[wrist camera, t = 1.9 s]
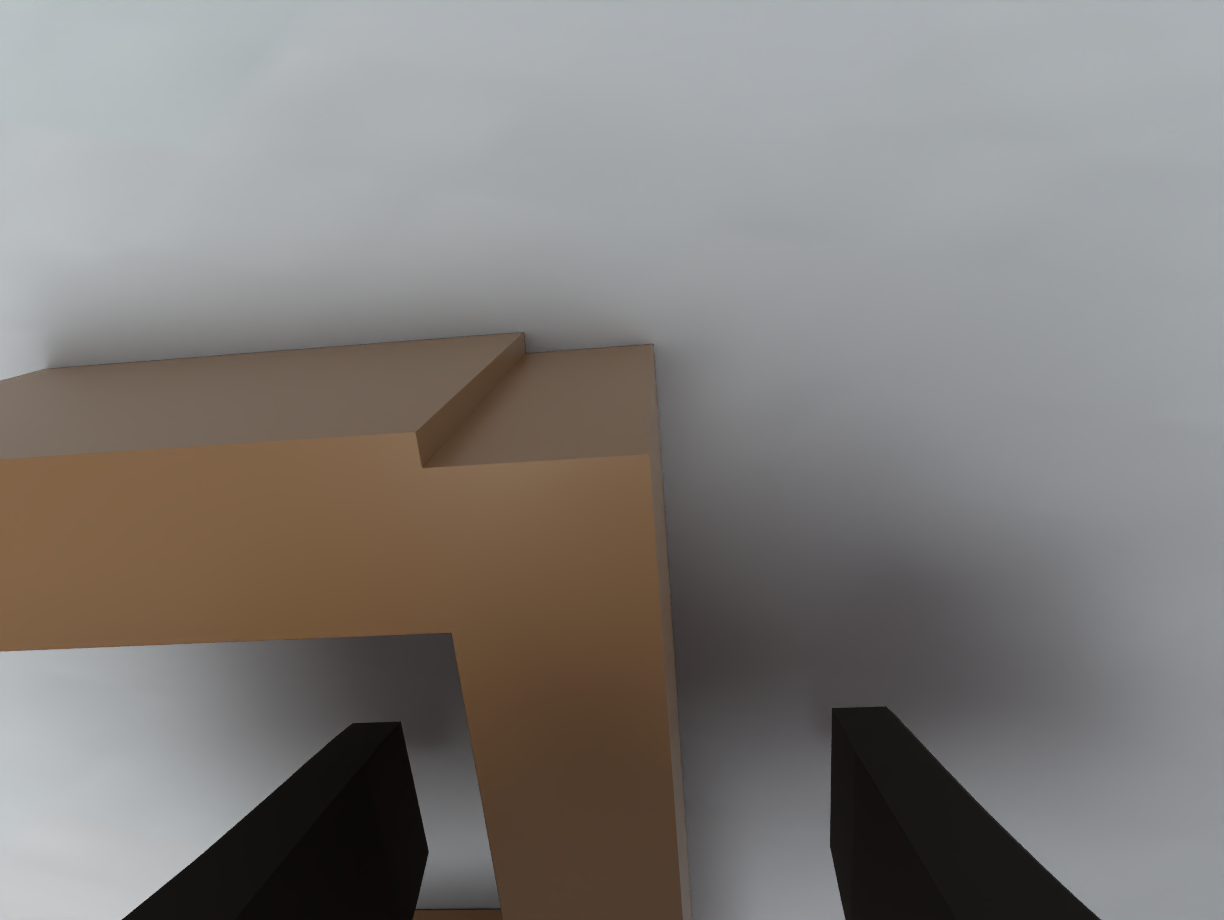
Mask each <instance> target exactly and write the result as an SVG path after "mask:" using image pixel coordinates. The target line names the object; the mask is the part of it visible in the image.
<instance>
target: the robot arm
mask: <svg viewBox="0 0 1224 920" xmlns="http://www.w3.org/2000/svg"><path fill="white" fill-rule="evenodd" d="M830 848H831V852H832V857H833V862H834V867H835V872H836V877H837V882H838V887H839V892H840V896H841V901H842V906H843V910H844V915H845V919H846V920H1101V919H1100V918H1098V917H1097V916H1096V915H1095V914H1094V913H1093V912H1092V911H1091V910H1089V909H1088V908H1087V907H1086V906H1085V905H1084V904H1083V903H1082V902H1081V901H1079V900H1078V899H1077V898H1076V897H1075V896H1074V895H1073V894H1072V893H1071V892H1070V891H1069V890H1068V889H1067V888H1066V887H1064V886H1063V885H1062V884H1061V883H1060V882H1059V881H1058V880H1057V879H1056V878H1055V877H1054V876H1053V875H1052V874H1051V873H1049V872H1048V871H1047V870H1046V869H1045V868H1044V867H1043V866H1042V865H1041V864H1040V863H1039V862H1038V861H1037V860H1036V859H1035V858H1034V857H1033V856H1032V855H1031V854H1030V853H1029V852H1028V851H1027V850H1026V849H1025V848H1024V847H1023V846H1022V845H1021V844H1020V843H1018V842H1017V841H1016V840H1015V839H1014V838H1013V837H1012V836H1011V835H1010V834H1009V833H1008V832H1007V831H1006V830H1005V829H1004V828H1003V827H1002V826H1001V825H1000V824H999V823H998V822H997V821H996V820H995V819H994V818H993V817H992V816H991V815H990V814H989V813H988V812H987V811H986V810H985V809H984V808H983V807H982V806H981V805H980V804H979V803H978V802H977V801H976V800H975V799H974V798H973V797H972V796H971V795H970V794H969V793H968V792H967V791H966V790H965V789H964V788H963V786H962V785H961V784H960V783H959V782H958V781H957V780H956V779H955V778H954V777H953V776H952V775H951V774H950V773H949V772H948V771H947V770H946V769H945V768H944V767H943V766H942V765H941V763H940V762H939V761H938V760H937V759H936V758H935V757H934V756H933V755H932V754H931V753H930V752H929V751H928V750H927V749H926V747H925V746H924V745H923V744H922V743H921V742H920V741H919V740H918V739H917V738H916V737H915V736H914V735H913V733H912V732H911V731H910V730H909V729H908V728H907V727H906V726H905V725H904V724H903V723H902V722H901V720H900V719H899V718H898V717H897V716H896V715H895V714H894V713H893V712H892V711H890V710H889V709H888V708H887V707H855V708H832V745H831V816H830ZM428 853H429V851H428V846H427V842H426V837H425V832H424V828H423V823H422V818H421V814H420V809H419V804H418V800H417V795H416V790H415V786H414V781H413V776H412V772H411V767H410V763H409V758H408V753H407V749H406V744H405V739H404V735H403V730H402V725H401V722H374V723H352V724H351V725H350V726H349V727H347V728H346V729H345V730H344V731H343V732H341V733H340V734H339V735H338V736H336V737H335V738H334V739H333V740H332V741H331V742H329V743H328V744H327V745H326V746H325V747H324V748H322V749H321V750H320V751H319V752H318V753H317V754H316V755H314V756H313V757H312V758H311V759H310V760H309V761H308V762H306V763H305V764H304V765H303V766H302V767H301V768H300V769H299V770H297V771H296V772H295V773H294V774H293V775H292V776H291V777H290V778H288V779H287V780H286V781H285V782H284V783H283V784H282V785H281V786H279V787H278V788H277V789H276V790H275V791H274V792H273V793H272V794H270V795H269V796H268V797H267V798H266V799H265V800H264V801H263V802H261V803H260V804H259V805H258V806H257V807H256V808H254V809H253V810H252V811H251V812H250V813H249V814H248V815H246V816H245V817H244V818H243V819H242V820H241V821H240V822H238V823H237V824H236V825H235V826H234V827H233V828H232V829H230V830H229V831H228V832H227V833H226V834H225V835H223V836H222V837H221V838H220V839H219V840H218V841H217V842H215V843H214V844H213V845H212V846H211V847H210V848H209V849H207V850H206V851H205V852H204V853H203V854H202V855H200V856H199V857H198V858H197V859H196V860H195V861H193V862H192V863H191V864H190V865H188V866H187V867H186V868H185V869H184V870H182V871H181V872H180V873H179V874H177V875H176V876H175V877H174V878H172V879H171V880H170V881H169V882H168V883H166V884H165V885H164V886H163V887H161V888H160V889H159V890H158V891H157V892H155V893H154V894H153V895H152V896H150V897H149V898H148V899H147V900H145V901H144V902H143V903H142V904H141V905H139V906H138V907H137V908H136V909H134V910H133V911H132V912H131V913H130V914H128V915H127V916H126V917H125V918H123V919H122V920H413V916H414V912H415V908H416V904H417V900H418V896H419V892H420V887H421V883H422V879H423V874H424V870H425V866H426V861H427V857H428Z"/></svg>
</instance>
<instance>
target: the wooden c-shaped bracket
mask: <svg viewBox="0 0 1224 920" xmlns="http://www.w3.org/2000/svg"><path fill="white" fill-rule="evenodd" d="M432 633H452V639H453V644H454V650H455V656H456V661H457V667H458V672H459V678H460V683H461V689H462V695H463V700H464V706H465V711H466V717H467V722H468V728H469V734H470V739H471V745H472V750H473V756H474V761H475V767H476V773H477V778H478V784H479V789H480V795H481V800H482V806H483V812H484V817H485V823H486V828H487V834H488V839H489V845H490V851H491V856H492V862H493V867H494V873H495V878H496V884H497V890H498V895H499V901H500V906H501V909H498V910H415V912H414V916H413V920H692V909H691V894H690V879H689V864H688V849H687V834H686V819H685V804H684V790H683V775H682V760H681V745H680V730H679V715H678V700H677V685H676V670H675V655H674V641H673V626H672V611H671V596H670V581H669V566H668V551H667V536H666V521H665V506H664V492H663V477H662V462H661V447H660V432H659V417H658V402H657V387H656V372H655V358H654V344H647V345H633V346H620V347H607V348H593V349H580V350H566V351H553V352H539V353H526V349H525V341H524V333H523V332H520V333H507V334H494V335H481V336H468V337H455V338H442V339H429V340H416V341H403V342H390V343H377V344H364V345H350V346H337V347H324V348H311V349H298V350H285V351H272V352H259V353H246V354H233V355H220V356H207V357H194V358H181V359H168V360H155V361H142V362H129V363H116V364H103V365H90V366H77V367H64V368H51V369H43V370H39V371H35V372H32V373H28V374H24V375H20V376H16V377H13V378H9V379H5V380H1V381H0V651H23V650H47V649H71V648H95V647H119V646H143V645H167V644H191V643H215V642H239V641H264V640H288V639H312V638H336V637H360V636H384V635H408V634H432Z"/></svg>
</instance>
